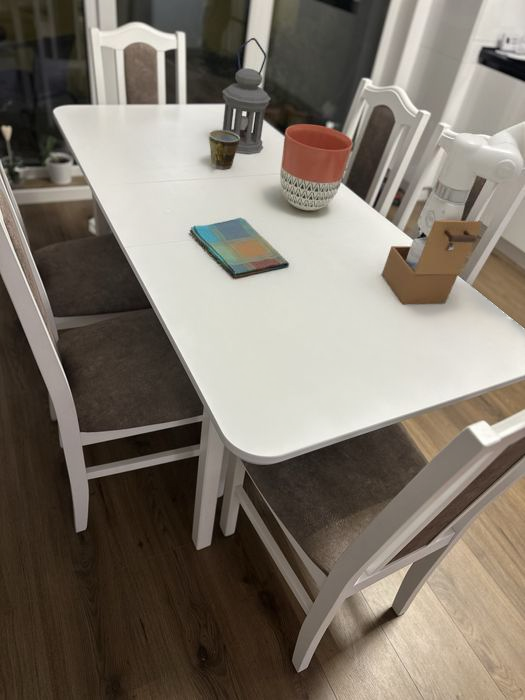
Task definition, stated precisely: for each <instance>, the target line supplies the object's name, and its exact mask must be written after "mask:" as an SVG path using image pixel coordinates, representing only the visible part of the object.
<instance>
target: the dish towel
mask: <svg viewBox="0 0 525 700" xmlns="http://www.w3.org/2000/svg"><path fill="white" fill-rule="evenodd" d="M189 233H190V234H191V236H193V238H195V239H196V240H197V241H198V242H199V243H200V244H201V245H202V247H204V248H205V249H206V250H207V251H208V252H209V253H210V254H211V255H212V256H213V258H214V259H216V260H217V261H218V262H219V264H220V265H221V266H222V267H223V268H224V269H225V270H226V271H227V272H228V273H229V274H230V275H231V277H232V278H240V277H244V276H245V277H246V276H249V275H254V274H258V273H263V272H268V271H269V272H270V271H273V270H274V271H275V270H278V269H283V268H288V267H290V263H289V261H288V260H286V258H284V256H283V255H282V254H280V252H279V251H278V250H277V249H276V248H275V247H273V245H271V244H270V243H269V242H268V241H267V240H266V239H265V238H264V237H263V236H262V235H261V234H260V233H259V232H258V231H257V230H256V229H255V228H254V227H253V226H252V225H251V224H250V223H249V222H248V221H247V220H246V219H245V218H242V217H237V218H234V219H229V220H225V221H220V222H215V223H212V224H205V225H193V226H191V227H190V230H189Z"/></svg>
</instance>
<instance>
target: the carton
mask: <svg viewBox="0 0 525 700" xmlns="http://www.w3.org/2000/svg"><path fill="white" fill-rule="evenodd" d="M410 248H411V245H410V246H409V245H407V246H405V245H403V246H402V245H401V246H399V245H392V246H390V249H389V252H388V255H387V258H386V261H385V263H384V267H383V270H382V273H381V276H382V277H383V279H384V280H385V281H386V283H387V284H388V286H389V287H390V289H391V290H392V291H393V293H394V294H395V296H396V297H397V299H398V300H399V302H400V303H401V304H402V305H429V304H430V305H433V304H446V302H447V300H448V298H449V296H450V294H451V291H452V290H453V287H454V285H455V282H456V280H457V279H458V276H459V274H429V275H415V274H414V272H413V271H412V270H411V268H410V267H409V266H408V264H407V263H406V259H407V256H408V253H409V250H410Z"/></svg>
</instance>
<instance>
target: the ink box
mask: <svg viewBox="0 0 525 700" xmlns="http://www.w3.org/2000/svg"><path fill="white" fill-rule="evenodd" d="M417 238H418V237H417ZM417 238H414V239H413V240H412V242H411V245H410V246H411V248H410V250H409V253H408V256H407V259H406V263H407V264H408V266H409V267H410V268H411V270H412V271H413V272H415V269H416V267H417V264H418V261H419V259H420V256H421V254H422V251H423V249H424V246H425V244H426V241H427V239H428V237H423V238H418V239H417Z"/></svg>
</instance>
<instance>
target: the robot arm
mask: <svg viewBox="0 0 525 700" xmlns="http://www.w3.org/2000/svg"><path fill="white" fill-rule="evenodd" d="M524 157H525V121H522V122H520V123H517V124H515V125H513V126H510V127H508V128H505V129H503V130H501V131H499V132H497V133H495V134H493V135H492V136H491V137H489V138H488V139H485V138H484V137H482V136H480V135H478V134H474V133H470V132H461V133H458V134H456V135H455V136H454V138H453V140H452V142H451V145H450V147H449V150H448V153H447V156H446V158H445V161H444V164H443V166H442V169H441V171H440V174H439V176H438V180H437V182H436V185H435V187H434V188H433V189H432V190H431V192H430V194H429V196H428V197H427V199H426V201H425V203H424V206H423V208H422V210H421V212H420V215H419V216H418V220H417V226H418V232H417V238H416V239H418V238H423V237H428V236H429V233H430V231H431V228H432V226H433V223H434V221H435V220H449V221H462V218H463V215H464V210H465V206H466V202H467V201H468V197H469V196H470V193H471V191H472V189H473V186H474V184H475V181H476V179H477V177H480V178H482V179H484V180H487V181H489V182H492V183H495V184H500V185H507V184H510V183H512V182H514V181H515V180H517V179H518V178H519V177H520V176H521V175H522V172H523V170H524ZM453 249H454V244H453V243H449V244H448V246H447V249H446V251H452V250H453Z"/></svg>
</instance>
